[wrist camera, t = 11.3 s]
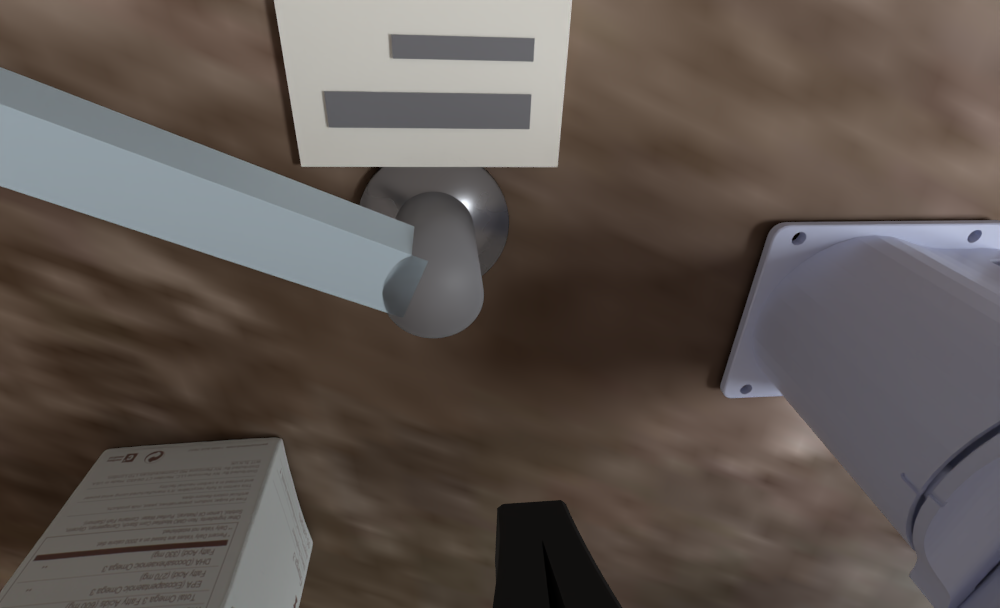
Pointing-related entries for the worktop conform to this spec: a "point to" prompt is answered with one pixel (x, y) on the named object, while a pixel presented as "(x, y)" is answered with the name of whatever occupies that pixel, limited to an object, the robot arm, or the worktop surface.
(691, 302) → the worktop surface
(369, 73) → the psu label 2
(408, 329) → the bar
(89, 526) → the supplement box
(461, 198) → the pivot base
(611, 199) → the worktop surface
